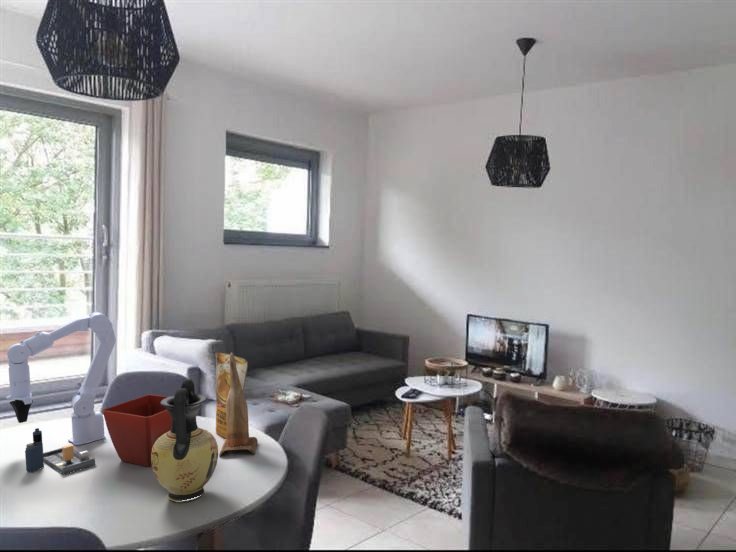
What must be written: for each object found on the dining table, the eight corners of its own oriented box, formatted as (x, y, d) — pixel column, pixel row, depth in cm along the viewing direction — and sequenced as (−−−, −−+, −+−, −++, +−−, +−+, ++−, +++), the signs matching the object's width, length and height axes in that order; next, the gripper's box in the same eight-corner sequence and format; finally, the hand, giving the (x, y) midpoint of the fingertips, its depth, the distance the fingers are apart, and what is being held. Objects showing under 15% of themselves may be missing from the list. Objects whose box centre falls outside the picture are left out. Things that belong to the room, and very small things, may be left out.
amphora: (220, 504, 144) (215, 389, 142) (150, 515, 140) (144, 395, 138) (218, 477, 161) (214, 373, 159) (155, 485, 157) (150, 379, 154)
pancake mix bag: (226, 426, 205) (223, 350, 203) (252, 439, 191) (249, 357, 189) (209, 430, 201) (205, 353, 199) (234, 444, 186) (231, 361, 185)
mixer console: (72, 451, 184) (71, 439, 184) (95, 465, 172) (94, 452, 172) (41, 459, 178) (40, 447, 177) (63, 474, 166) (63, 461, 165)
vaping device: (46, 466, 172) (43, 427, 171) (30, 473, 167) (28, 433, 166) (39, 465, 173) (37, 427, 172) (24, 472, 168) (21, 432, 167)
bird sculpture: (257, 443, 188) (253, 347, 187) (255, 455, 177) (251, 353, 176) (223, 446, 187) (218, 349, 186) (219, 458, 175) (214, 356, 174)
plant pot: (196, 450, 182) (193, 399, 181) (150, 473, 165) (147, 417, 164) (151, 443, 190) (149, 393, 189) (104, 464, 173) (100, 410, 172)
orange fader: (71, 459, 173) (71, 444, 173) (74, 461, 172) (73, 445, 172) (62, 462, 172) (61, 446, 171) (65, 464, 170) (64, 448, 170)
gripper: (-2, 380, 185) (1, 420, 186) (13, 387, 176) (16, 429, 177) (22, 375, 191) (25, 415, 192) (38, 382, 181) (40, 423, 182)
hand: (22, 421), depth 184 cm, fingers closed
